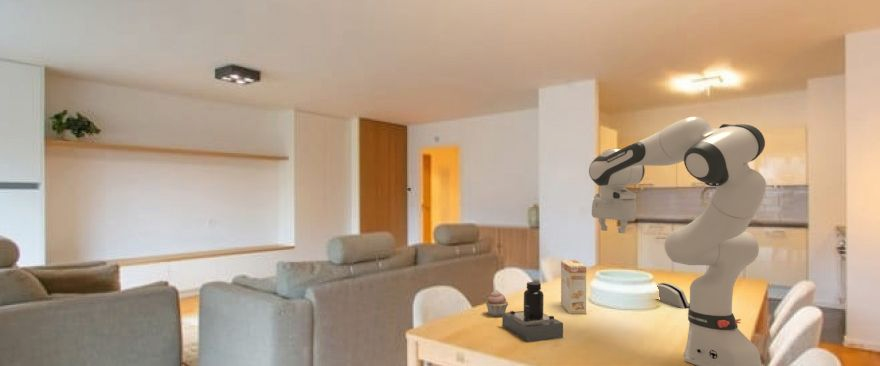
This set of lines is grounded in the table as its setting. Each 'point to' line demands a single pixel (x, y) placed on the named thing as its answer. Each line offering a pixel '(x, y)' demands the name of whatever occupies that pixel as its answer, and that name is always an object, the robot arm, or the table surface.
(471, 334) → the table surface
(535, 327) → the box
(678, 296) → the grey curved wedge
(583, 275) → the coffeecake box
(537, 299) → the supplement bottle
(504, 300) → the cupcake
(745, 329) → the table surface
